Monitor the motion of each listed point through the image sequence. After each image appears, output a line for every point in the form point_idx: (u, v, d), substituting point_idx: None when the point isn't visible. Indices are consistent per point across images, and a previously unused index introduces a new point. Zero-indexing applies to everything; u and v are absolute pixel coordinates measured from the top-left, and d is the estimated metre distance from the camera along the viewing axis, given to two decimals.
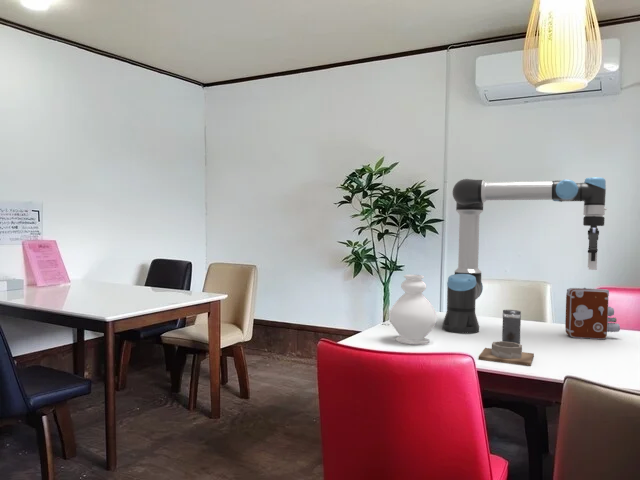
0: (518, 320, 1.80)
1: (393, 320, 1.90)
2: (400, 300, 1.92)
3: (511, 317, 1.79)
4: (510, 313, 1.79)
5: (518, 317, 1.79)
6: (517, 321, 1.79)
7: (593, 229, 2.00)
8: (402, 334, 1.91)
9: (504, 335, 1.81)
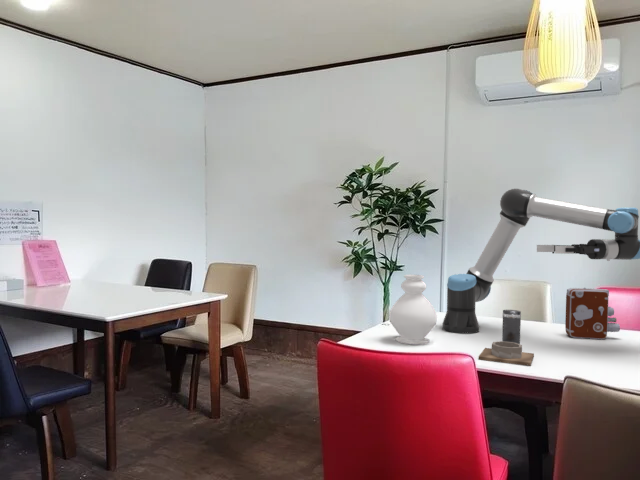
0: (518, 320, 1.80)
1: (393, 320, 1.90)
2: (400, 300, 1.92)
3: (511, 317, 1.79)
4: (510, 313, 1.79)
5: (518, 317, 1.79)
6: (517, 321, 1.79)
7: (598, 249, 1.83)
8: (402, 334, 1.91)
9: (504, 335, 1.81)
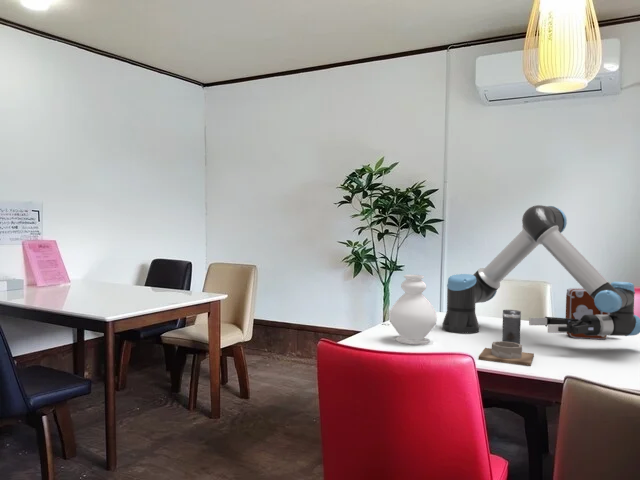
0: (518, 320, 1.80)
1: (393, 320, 1.90)
2: (400, 300, 1.92)
3: (511, 317, 1.79)
4: (510, 313, 1.79)
5: (518, 317, 1.79)
6: (517, 321, 1.79)
7: (592, 328, 1.77)
8: (402, 334, 1.91)
9: (504, 335, 1.81)
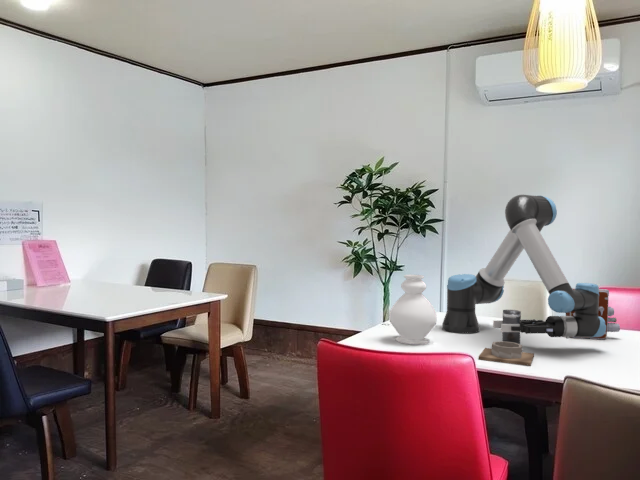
0: (518, 320, 1.80)
1: (393, 320, 1.90)
2: (400, 300, 1.92)
3: (511, 317, 1.79)
4: (510, 313, 1.79)
5: (518, 317, 1.79)
6: (517, 321, 1.79)
7: (550, 329, 1.76)
8: (402, 334, 1.91)
9: (504, 335, 1.81)
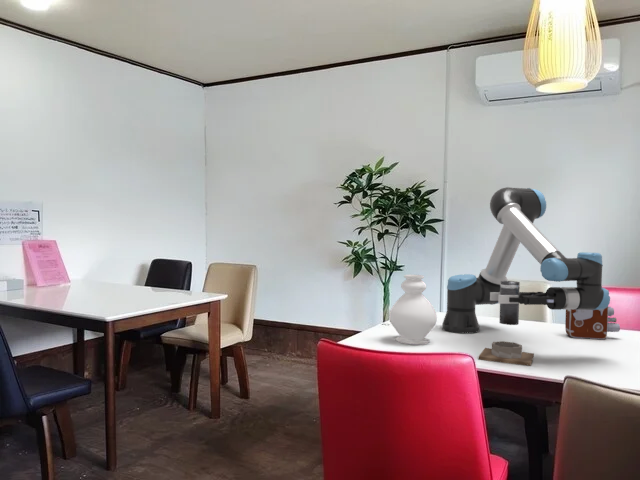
0: (517, 291, 1.68)
1: (393, 320, 1.90)
2: (400, 300, 1.92)
3: (509, 288, 1.68)
4: (508, 283, 1.68)
5: (517, 288, 1.68)
6: (515, 292, 1.68)
7: (551, 300, 1.65)
8: (402, 334, 1.91)
9: (502, 307, 1.70)
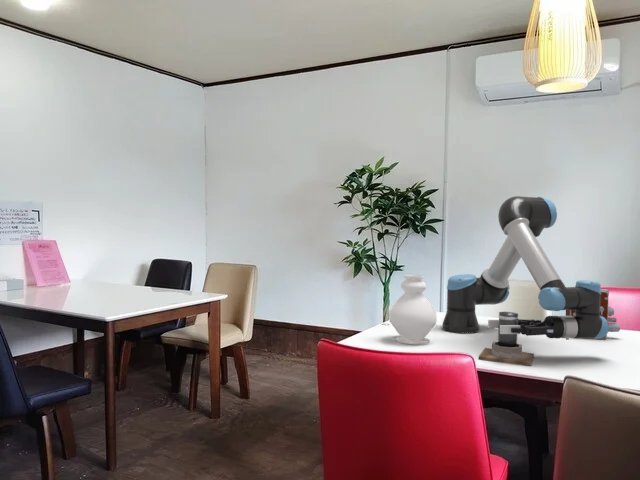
0: (515, 323, 1.68)
1: (393, 320, 1.90)
2: (400, 300, 1.92)
3: (508, 320, 1.68)
4: (507, 315, 1.68)
5: (515, 320, 1.68)
6: (514, 324, 1.68)
7: (551, 330, 1.64)
8: (402, 334, 1.91)
9: (500, 339, 1.70)
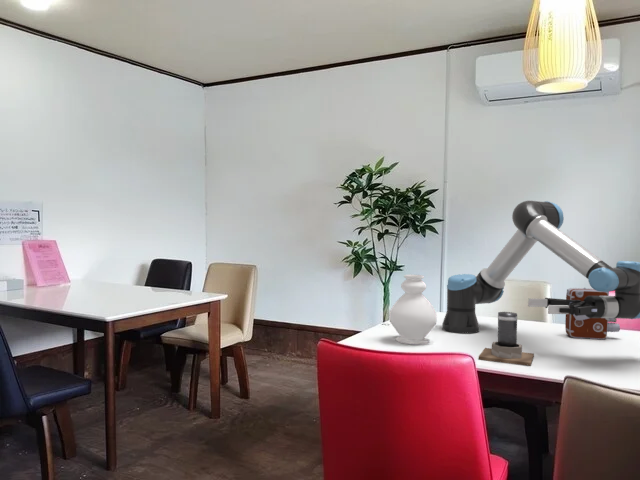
0: (514, 323, 1.68)
1: (393, 320, 1.90)
2: (400, 300, 1.92)
3: (507, 320, 1.68)
4: (506, 316, 1.68)
5: (515, 320, 1.68)
6: (513, 324, 1.68)
7: (595, 309, 1.64)
8: (402, 334, 1.91)
9: (499, 339, 1.70)
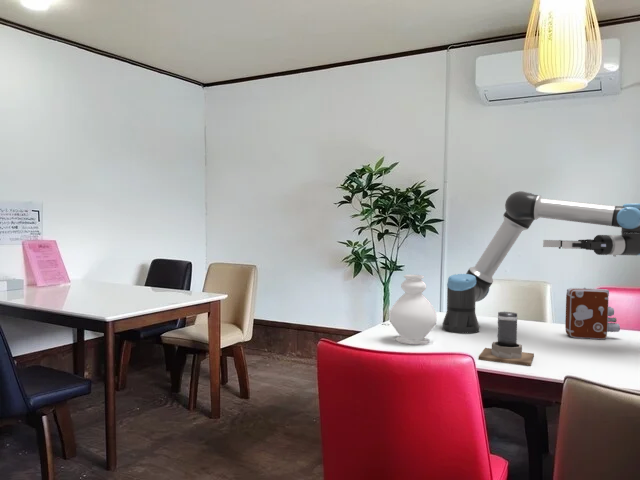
0: (514, 323, 1.68)
1: (393, 320, 1.90)
2: (400, 300, 1.92)
3: (507, 320, 1.68)
4: (505, 315, 1.68)
5: (514, 320, 1.68)
6: (513, 324, 1.68)
7: (604, 244, 1.84)
8: (402, 334, 1.91)
9: (499, 339, 1.70)
